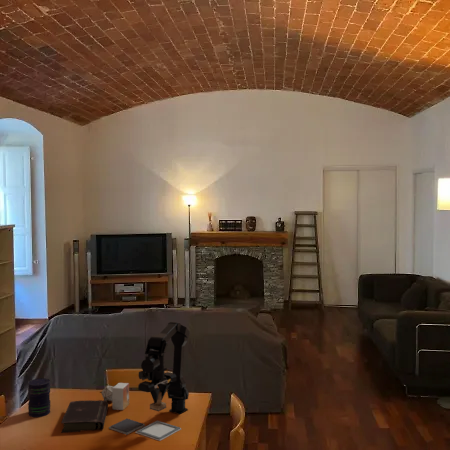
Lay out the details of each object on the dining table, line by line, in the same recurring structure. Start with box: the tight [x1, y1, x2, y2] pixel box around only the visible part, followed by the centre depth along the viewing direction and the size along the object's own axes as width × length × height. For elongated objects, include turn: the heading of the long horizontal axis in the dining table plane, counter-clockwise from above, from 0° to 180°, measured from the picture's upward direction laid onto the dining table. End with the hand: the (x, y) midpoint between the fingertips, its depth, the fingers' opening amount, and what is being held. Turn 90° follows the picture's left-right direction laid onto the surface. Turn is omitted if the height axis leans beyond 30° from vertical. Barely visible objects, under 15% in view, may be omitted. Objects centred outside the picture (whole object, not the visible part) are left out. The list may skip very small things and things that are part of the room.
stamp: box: [149, 391, 167, 412], centre depth 227 cm, size 5×5×7 cm
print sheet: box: [134, 420, 182, 441], centre depth 228 cm, size 14×14×1 cm
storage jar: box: [27, 377, 52, 418], centre depth 247 cm, size 10×10×15 cm
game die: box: [99, 384, 117, 402], centre depth 262 cm, size 9×8×10 cm
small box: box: [111, 382, 130, 411], centre depth 254 cm, size 8×6×10 cm
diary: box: [60, 399, 109, 434], centre depth 239 cm, size 19×25×5 cm
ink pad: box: [108, 418, 146, 435], centre depth 231 cm, size 11×11×1 cm
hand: (158, 401), depth 227 cm, fingers closed on stamp, 3 cm apart
